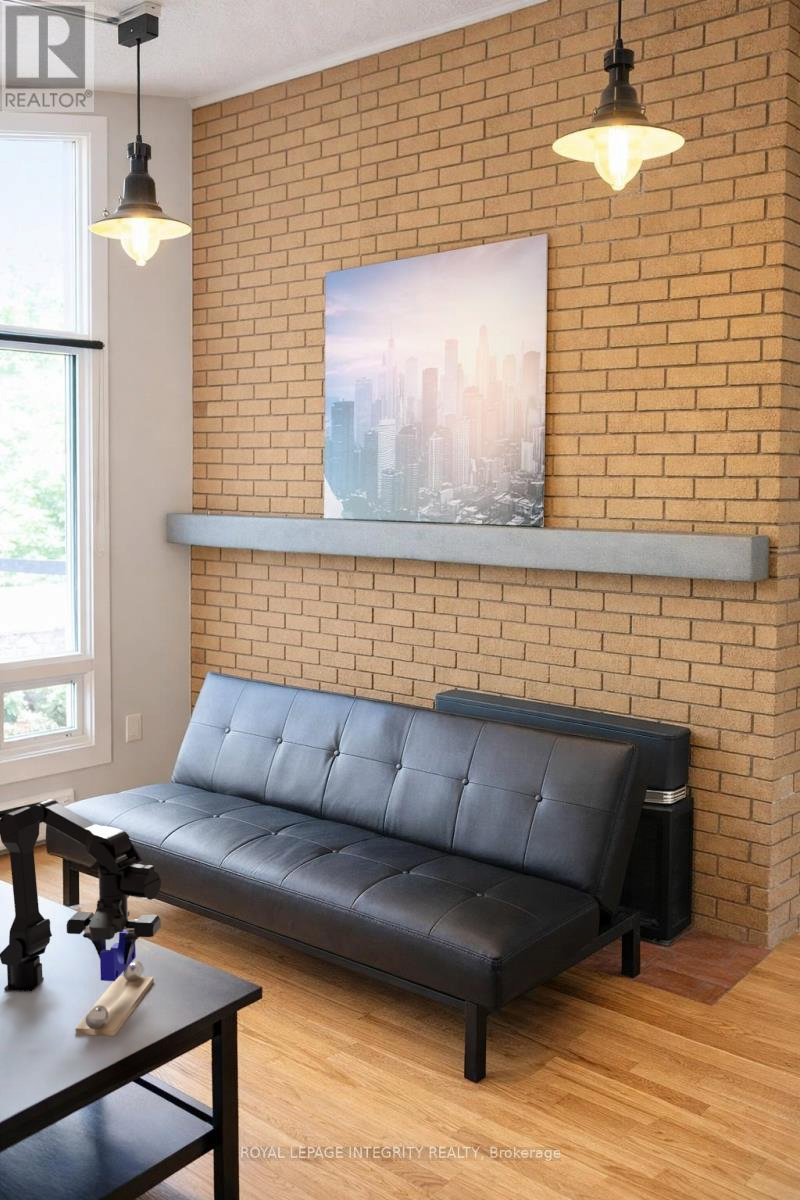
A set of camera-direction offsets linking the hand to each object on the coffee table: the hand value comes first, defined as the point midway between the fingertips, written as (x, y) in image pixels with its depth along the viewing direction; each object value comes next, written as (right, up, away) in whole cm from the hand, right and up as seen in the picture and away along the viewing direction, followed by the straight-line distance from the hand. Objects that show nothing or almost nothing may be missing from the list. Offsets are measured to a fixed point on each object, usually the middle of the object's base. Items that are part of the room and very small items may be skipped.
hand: (114, 963), depth 239 cm
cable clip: (0, -1, 0) cm, 1 cm away
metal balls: (0, -8, +1) cm, 8 cm away
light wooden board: (0, -10, +1) cm, 10 cm away
